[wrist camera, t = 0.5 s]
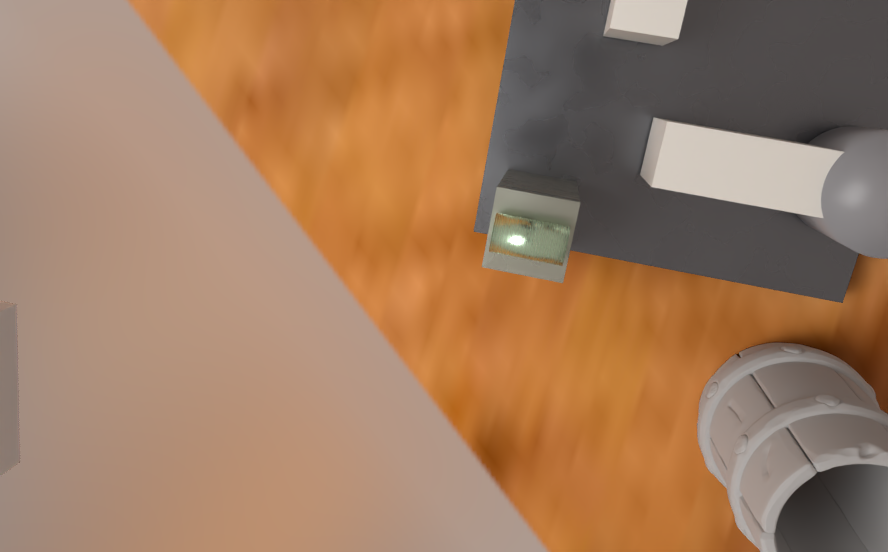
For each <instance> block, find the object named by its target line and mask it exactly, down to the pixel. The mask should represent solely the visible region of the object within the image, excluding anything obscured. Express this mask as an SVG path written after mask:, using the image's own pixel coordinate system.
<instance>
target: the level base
mask: <svg viewBox="0 0 888 552" xmlns="http://www.w3.org/2000/svg"><path fill="white" fill-rule="evenodd" d="M610 2H611V0H515V4H514V10H513V15H512V21H511V26H510V32H509V38H508V43H507V49H506V54H505V60H504V65H503V71H502V77H501V82H500V88H499V93H498V99H497V105H496V110H495V116H494V121H493V127H492V132H491V138H490V144H489V149H488V155H487V160H486V166H485V171H484V177H483V183H482V188H481V194H480V199H479V205H478V211H477V216H476V222H475V227H474V232H479V233H484V234H488V237H487V242H486V248H485V253H484V258H483V264H482V267H484V268H489V269H494V270H499V271H504V272H509V273H514V274H519V275H525V276H530V277H535V278H540V279H545V280H550V281H555V282H560V283H563V280H564V276H565V271H566V267H567V262H568V257H569V253H570V250H572V251H577V252H582V253H588V254H593V255H598V256H603V257H608V258H613V259H619V260H624V261H629V262H634V263H639V264H644V265H650V266H655V267H660V268H665V269H670V270H675V271H681V272H686V273H691V274H696V275H701V276H706V277H711V278H717V279H722V280H727V281H732V282H737V283H742V284H748V285H753V286H758V287H763V288H768V289H773V290H779V291H784V292H789V293H794V294H799V295H804V296H810V297H815V298H820V299H825V300H830V301H835V302H841V303H843V300H844V297H845V294H846V291H847V288H848V285H849V282H850V278H851V275H852V272H853V269H854V266H855V263H856V260H857V257H858V254H859V253H857V252H855V251H853V250H851V249H850V248H848V247H846V246H844V245H842V244H841V243H839V242H837V241H835V240H833V239H831V238H830V237H828V236H826V235H824V234H822V233H820V232H819V231H817V230H815V229H813V228H811V227H810V226H808V225H807V224H805V223H804V222H803V221H802V220H801V219H800V218H799V217H798V216H797V214H796V213H791V212H786V211H780V210H775V209H769V208H764V207H758V206H753V205H747V204H742V203H736V202H731V201H725V200H720V199H714V198H709V197H704V196H698V195H693V194H687V193H682V192H676V191H671V190H665V189H660V188H654V187H651V186H650V185H649V184H648V183H647V182H646V181H645V180H644V179H643V178H642V177H641V175H640V172H641V168H642V164H643V160H644V155H645V151H646V147H647V143H648V139H649V134H650V130H651V126H652V122H653V118H654V117H655V118H660V119H666V120H672V121H678V122H684V123H690V124H695V125H701V126H707V127H713V128H719V129H724V130H730V131H736V132H742V133H748V134H753V135H759V136H765V137H771V138H777V139H782V140H788V141H794V142H800V143H806V144H808V143H809V142H810V141H811V140H813V139H814V138H815V137H817V136H818V135H820V134H822V133H824V132H826V131H829V130H831V129H835V128H839V127H845V126H859V127H868V128H876V129H884V130H888V0H688V1H687V5H686V9H685V13H684V18H683V22H682V26H681V30H680V34H679V38H678V39H677V40H675V41H673V42H670V43H668V44H666V45H663V46H661V45H655V44H649V43H643V42H636V41H630V40H624V39H618V38H612V37H606V36H603V35H604V30H605V25H606V20H607V16H608V11H609V6H610Z"/></svg>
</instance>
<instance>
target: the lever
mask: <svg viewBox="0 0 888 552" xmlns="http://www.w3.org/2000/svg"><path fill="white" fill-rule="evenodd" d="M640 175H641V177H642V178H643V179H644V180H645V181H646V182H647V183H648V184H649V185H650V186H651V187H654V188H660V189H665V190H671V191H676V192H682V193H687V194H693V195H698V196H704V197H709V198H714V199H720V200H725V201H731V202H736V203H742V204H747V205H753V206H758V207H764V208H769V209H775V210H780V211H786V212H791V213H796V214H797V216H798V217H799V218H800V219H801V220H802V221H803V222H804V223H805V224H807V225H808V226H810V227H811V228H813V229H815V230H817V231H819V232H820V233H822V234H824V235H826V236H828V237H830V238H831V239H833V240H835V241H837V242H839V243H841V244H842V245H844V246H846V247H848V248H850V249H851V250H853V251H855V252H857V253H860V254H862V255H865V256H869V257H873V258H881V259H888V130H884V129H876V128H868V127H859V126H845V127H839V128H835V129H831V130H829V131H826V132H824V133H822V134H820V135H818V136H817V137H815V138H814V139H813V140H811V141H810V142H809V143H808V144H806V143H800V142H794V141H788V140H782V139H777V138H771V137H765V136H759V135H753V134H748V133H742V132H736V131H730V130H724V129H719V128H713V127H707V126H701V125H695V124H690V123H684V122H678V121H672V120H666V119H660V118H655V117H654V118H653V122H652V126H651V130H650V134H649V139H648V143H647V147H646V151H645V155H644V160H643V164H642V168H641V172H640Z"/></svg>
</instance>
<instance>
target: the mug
mask: <svg viewBox="0 0 888 552" xmlns="http://www.w3.org/2000/svg"><path fill="white" fill-rule="evenodd" d="M739 355H740V357H741V358H740V357H738V356H737V355H736V354H735V355H734V356H732V357H731V358H729V359H728V360H727V361H726V362H725V363H724V364H723V365H722V366H721V367H720V368H719V369H718V370H717V371H716V373H715V374H714V375H713V376H712V377H711V378H710V379H709V381H708V382H707V384H706V386H705V387H704V390H703V392H702V395H701V398H700V403H699V416H698V423H697V437H698V443H699V447H700V449H701V452H702V454H703V457H704V459H705V464H706V466H707V468H708V470H709V471H710V472H711V473H712V474H714V475H715V477H716V478H717V479H718V480H719V481H720V482H721V483H722V484H723V485H724V486H725V487H726V488H727V493H728V498H729V502H730V505H731V508H732V510H733V513H734V516H735V522H736V524H737V526H738V528H739V529H740V530H741V532H742V533H743V534H744V535H745V536H746V537H747V538H748V539H749V540H750V541H751V542H752V543H753V544H754V545H755V546H757V547H758V548H759V550H760V552H888V414H887V413H885V412H884V411H882V410H880V407H879V404H878V402H877V400H876V394H875V392H874V390H873V388H872V387H871V386H870V385H869V384H868V383H866V381H865V380H864V379H863V378H862V377H861V376H860V375H859V374H858V373H857V372H856V371H855V370H854V369H853V368H852V367H851V366H850V365H848V364H847V363H846V362H844V361H843V360H841V359H839V358H838V357H836V356H834V355H832V354H829V353H827V352H825V351H822V350H819V349H815V348H811V347H808V346H805V345H801V344H794V343H778V342H775V343H766V344H761V345H757V346H754V347H751V348H748V349H745V350H743V351H741V352H739Z"/></svg>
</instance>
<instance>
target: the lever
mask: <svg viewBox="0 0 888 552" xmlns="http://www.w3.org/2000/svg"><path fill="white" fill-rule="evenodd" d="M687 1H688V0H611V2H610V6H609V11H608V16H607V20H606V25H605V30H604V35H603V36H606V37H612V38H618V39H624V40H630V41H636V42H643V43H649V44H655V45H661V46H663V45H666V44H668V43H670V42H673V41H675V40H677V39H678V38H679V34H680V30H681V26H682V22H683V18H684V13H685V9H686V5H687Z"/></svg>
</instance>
